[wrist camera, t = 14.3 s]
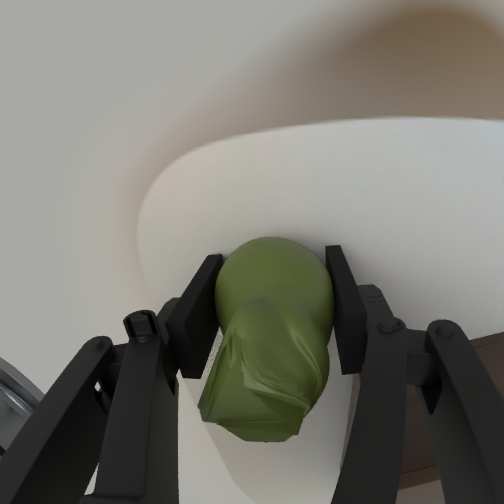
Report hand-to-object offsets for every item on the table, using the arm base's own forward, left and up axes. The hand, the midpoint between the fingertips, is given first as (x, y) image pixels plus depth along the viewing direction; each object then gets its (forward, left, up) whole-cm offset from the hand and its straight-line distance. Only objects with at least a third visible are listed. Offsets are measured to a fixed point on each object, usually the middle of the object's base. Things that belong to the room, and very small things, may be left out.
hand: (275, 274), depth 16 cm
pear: (0, 0, -1) cm, 1 cm away
